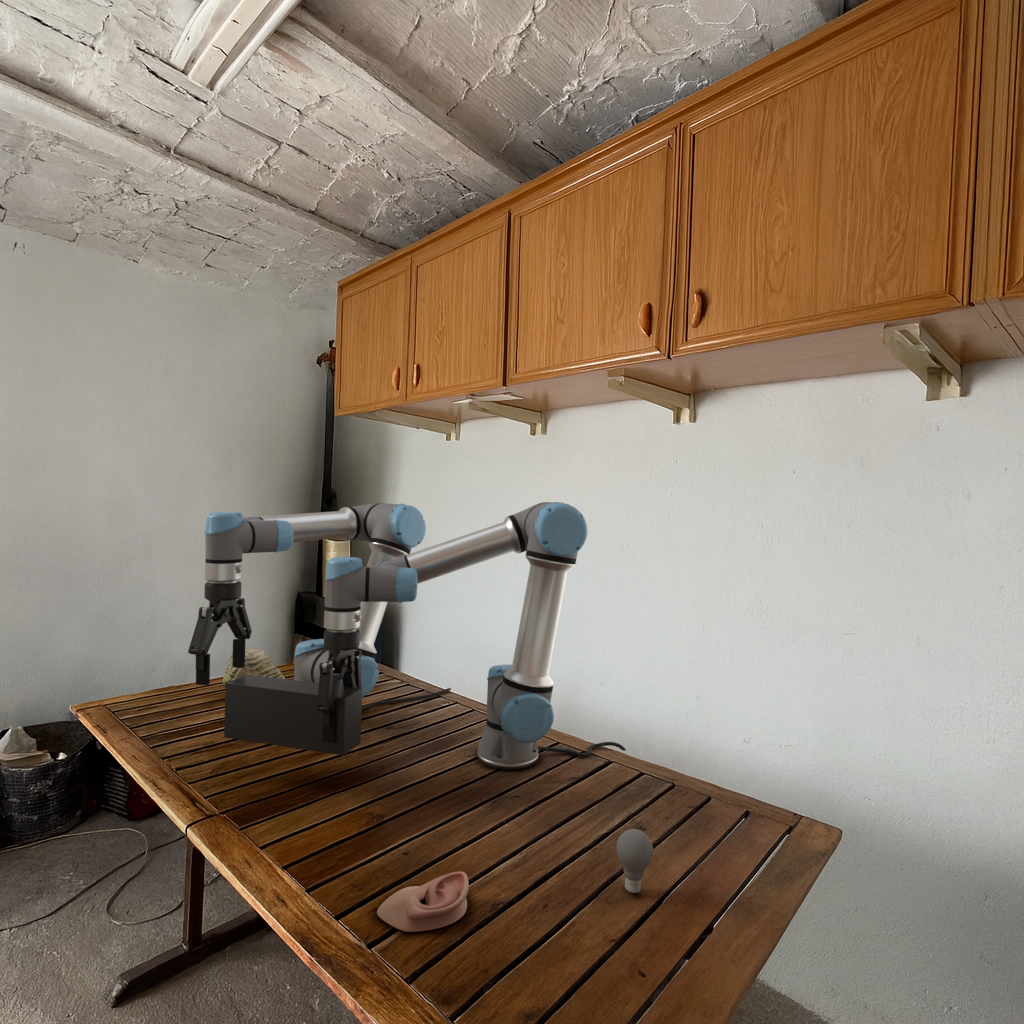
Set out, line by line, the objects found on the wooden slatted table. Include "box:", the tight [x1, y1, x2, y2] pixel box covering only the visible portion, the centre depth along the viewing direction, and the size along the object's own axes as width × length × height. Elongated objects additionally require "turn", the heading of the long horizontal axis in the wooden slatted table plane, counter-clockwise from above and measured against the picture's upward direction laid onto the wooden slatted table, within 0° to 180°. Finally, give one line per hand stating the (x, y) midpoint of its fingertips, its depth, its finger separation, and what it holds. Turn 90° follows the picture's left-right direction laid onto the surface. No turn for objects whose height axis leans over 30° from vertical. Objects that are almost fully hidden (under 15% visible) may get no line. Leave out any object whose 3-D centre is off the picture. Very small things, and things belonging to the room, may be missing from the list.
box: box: [223, 675, 363, 756], centre depth 140 cm, size 30×7×12 cm, turn 75°
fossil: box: [222, 646, 286, 688], centre depth 198 cm, size 9×18×15 cm, turn 132°
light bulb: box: [615, 828, 654, 894], centre depth 106 cm, size 6×6×10 cm
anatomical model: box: [376, 871, 470, 933], centre depth 99 cm, size 13×4×12 cm
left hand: (221, 675), depth 142 cm, fingers open, 13 cm apart
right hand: (339, 734), depth 137 cm, fingers closed on box, 7 cm apart
